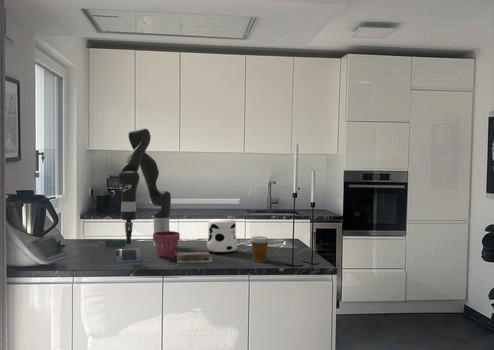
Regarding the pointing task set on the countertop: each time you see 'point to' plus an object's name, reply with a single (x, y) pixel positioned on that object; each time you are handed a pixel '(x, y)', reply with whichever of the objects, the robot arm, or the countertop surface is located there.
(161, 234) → the plant pot
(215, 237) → the milk container
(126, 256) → the charcoal rectangular prism
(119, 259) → the white pegged board
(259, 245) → the disposable coffee cup
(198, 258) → the packaged product
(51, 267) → the countertop surface
